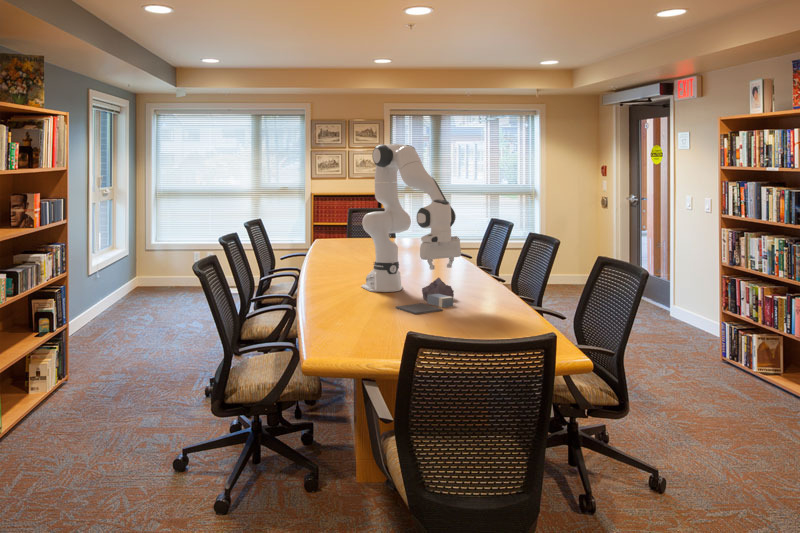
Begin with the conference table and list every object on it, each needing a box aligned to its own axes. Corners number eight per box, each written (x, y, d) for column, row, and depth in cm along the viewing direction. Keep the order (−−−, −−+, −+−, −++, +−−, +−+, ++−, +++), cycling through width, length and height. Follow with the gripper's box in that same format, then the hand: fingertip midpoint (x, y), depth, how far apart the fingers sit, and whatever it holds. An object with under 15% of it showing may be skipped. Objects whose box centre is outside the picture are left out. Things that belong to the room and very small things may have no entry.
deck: (427, 303, 305) (427, 294, 305) (438, 302, 309) (438, 293, 308) (442, 307, 296) (442, 298, 296) (453, 306, 300) (453, 297, 299)
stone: (422, 279, 310) (454, 277, 312) (419, 277, 316) (451, 276, 318) (423, 302, 310) (455, 300, 313) (420, 300, 316) (451, 298, 319)
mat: (395, 308, 294) (395, 306, 294) (422, 304, 302) (422, 303, 302) (415, 314, 282) (415, 312, 282) (442, 310, 290) (442, 308, 290)
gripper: (455, 235, 307) (455, 265, 308) (417, 237, 295) (417, 269, 297) (464, 236, 301) (463, 267, 303) (426, 239, 290) (426, 271, 292)
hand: (440, 268), depth 300 cm, fingers open, 8 cm apart
